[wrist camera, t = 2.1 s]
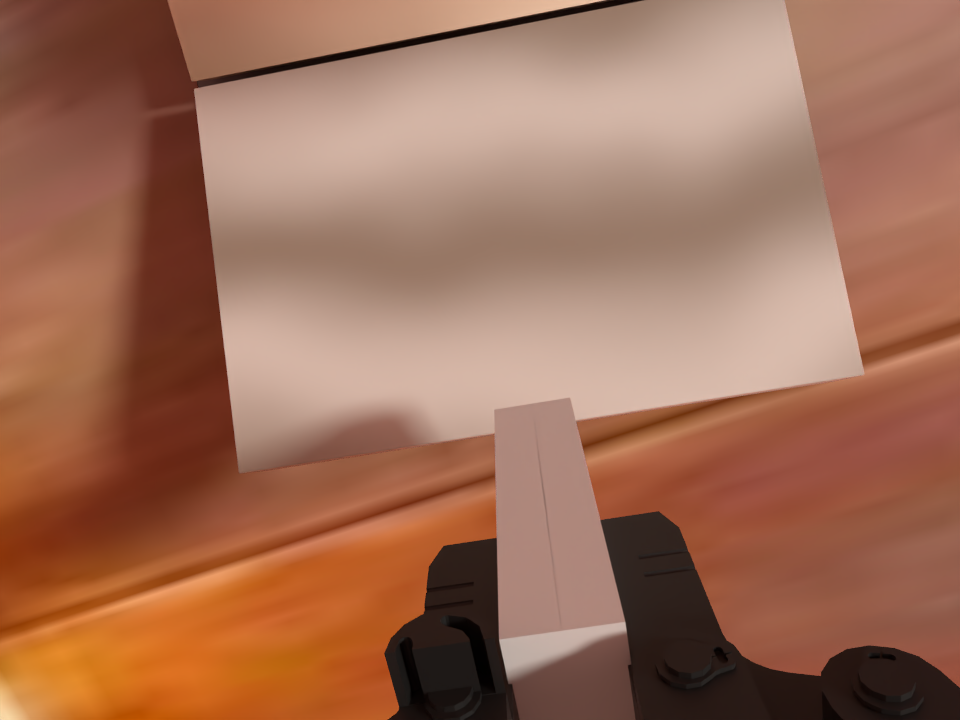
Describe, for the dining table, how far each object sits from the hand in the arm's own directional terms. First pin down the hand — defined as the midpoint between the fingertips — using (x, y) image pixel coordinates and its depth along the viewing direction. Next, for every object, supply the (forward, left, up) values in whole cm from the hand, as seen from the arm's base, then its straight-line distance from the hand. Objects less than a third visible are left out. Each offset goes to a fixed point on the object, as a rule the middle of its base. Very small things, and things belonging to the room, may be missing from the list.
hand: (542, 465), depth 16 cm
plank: (-3, 0, -7) cm, 8 cm away
